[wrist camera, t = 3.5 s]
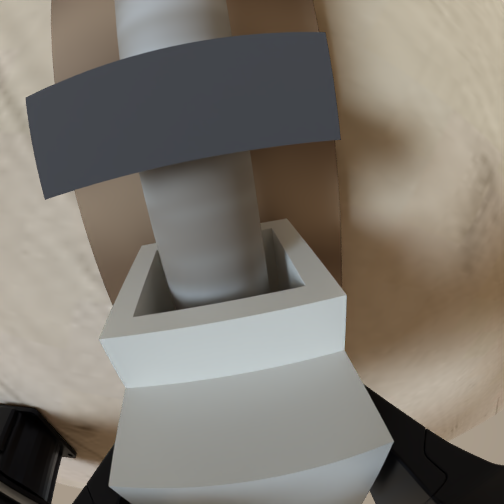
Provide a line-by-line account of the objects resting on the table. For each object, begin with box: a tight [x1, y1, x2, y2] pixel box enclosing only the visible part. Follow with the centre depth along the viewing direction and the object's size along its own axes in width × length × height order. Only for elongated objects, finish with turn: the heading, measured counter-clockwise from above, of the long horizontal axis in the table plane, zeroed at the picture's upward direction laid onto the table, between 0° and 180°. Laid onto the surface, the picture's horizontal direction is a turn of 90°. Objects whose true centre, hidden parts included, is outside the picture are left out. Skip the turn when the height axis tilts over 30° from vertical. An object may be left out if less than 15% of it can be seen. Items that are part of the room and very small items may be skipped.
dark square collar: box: [26, 32, 341, 200], centre depth 7 cm, size 2×5×5 cm, turn 98°
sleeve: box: [99, 218, 394, 504], centre depth 8 cm, size 6×5×8 cm
